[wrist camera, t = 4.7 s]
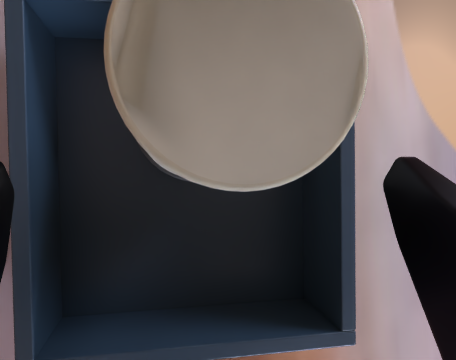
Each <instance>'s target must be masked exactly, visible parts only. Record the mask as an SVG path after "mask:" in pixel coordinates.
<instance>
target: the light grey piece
mask: <svg viewBox="0 0 456 360" xmlns="http://www.w3.org/2000/svg"><path fill="white" fill-rule="evenodd" d="M104 61H105V71H106V76H107V80H108V85H109V89H110V92H111V95H112V97H113V100H114V103H115V105H116V108H117V110H118V112H119V114H120V115H121V117H122V119H123V121H124V123H125V125H126V126H127V128H128V129H129V130H130V132H131V133H132V135H133V136H134V137H135V139H136V141H137V143H138V145H139V147H140V149H141V150H142V152H143V153H144V154H145V156H146V157H147V158H148V159H149V160H150V162H151V163H152V164H153V165H155V166H156V167H157V168H158V169H160V170H161V171H163V172H164V173H166V174H168V175H170V176H172V177H174V178H177V179H181V180H185V181H190V182H194V183H197V184H200V185H204V186H207V187H210V188H214V189H220V190H226V191H241V192H248V191H258V190H265V189H270V188H274V187H278V186H281V185H284V184H286V183H289V182H292V181H294V180H296V179H298V178H300V177H302V176H304V175H305V174H307V173H309V172H310V171H312V170H313V169H314V168H316V167H317V166H319V165H320V164H321V163H322V162H324V161H325V160H326V159H327V158H328V157H329V156H330V155H331V154H332V153H333V152H334V151H335V150H336V148H337V147H338V146H339V145H340V143H341V142H342V141H343V140H344V138H345V136H346V135H347V133H348V132H349V130H350V128H351V127H352V125H353V123H354V121H355V118H356V116H357V114H358V112H359V110H360V106H361V103H362V100H363V97H364V94H365V88H366V82H367V75H368V48H367V40H366V34H365V29H364V25H363V22H362V19H361V15H360V12H359V10H358V7H357V5H356V3H355V1H354V0H113V1H112V4H111V7H110V10H109V13H108V17H107V22H106V27H105V33H104Z"/></svg>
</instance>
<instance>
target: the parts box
mask: <svg viewBox="0 0 456 360" xmlns="http://www.w3.org/2000/svg"><path fill="white" fill-rule="evenodd" d="M112 1H113V0H4V15H5V48H6V81H7V114H8V146H9V178H10V180H11V183H12V185H13V188H14V194H15V197H14V206H13V213H12V221H11V245H12V278H13V311H14V344H15V360H216V359H226V358H235V357H245V356H255V355H265V354H274V353H284V352H294V351H304V350H313V349H323V348H333V347H343V346H352V345H355V344H356V332H355V329H356V304H355V128H354V123H353V125H352V127H351V128H350V130H349V132H348V133H347V135H346V136H345V138H344V140H343V141H342V142H341V143H340V145H339V146H338V147H337V148H336V150H335V151H334V152H333V153H332V154H331V155H330V156H329V157H328V158H327V159H326V160H325V161H324V162H322V163H321V164H320V165H319V166H317V167H316V168H314V169H313V170H312V171H310V172H309V173H307V174H305V175H304V176H302V177H300V178H298V179H296V180H294V181H292V182H289V183H286V184H284V185H281V186H278V187H274V188H270V189H265V190H258V191H248V192H241V191H226V190H220V189H214V188H210V187H207V186H204V185H200V184H197V183H194V182H190V181H185V180H181V179H177V178H174V177H172V176H170V175H168V174H166V173H164V172H163V171H161V170H160V169H158V168H157V167H156V166H155V165H153V164H152V163H151V162H150V160H149V159H148V158H147V157H146V156H145V154H144V153H143V152H142V150H141V149H140V147H139V145H138V143H137V141H136V139H135V137H134V136H133V135H132V133H131V132H130V130H129V129H128V128H127V126H126V125H125V123H124V121H123V119H122V117H121V115H120V114H119V112H118V110H117V108H116V105H115V103H114V100H113V97H112V95H111V92H110V89H109V85H108V80H107V76H106V71H105V61H104V33H105V27H106V22H107V17H108V13H109V10H110V7H111V4H112Z"/></svg>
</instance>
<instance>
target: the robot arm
mask: <svg viewBox="0 0 456 360" xmlns="http://www.w3.org/2000/svg"><path fill="white" fill-rule="evenodd" d="M383 188H384V193H385V197H386V200H387V204H388V208H389V212H390V216H391V219H392V223H393V227H394V231H395V234H396V238H397V241H398V244H399V247H400V250H401V252H402V255H403V257H404V260H405V263H406V265H407V268H408V271H409V273H410V276H411V278H412V281H413V284H414V286H415V289H416V291H417V294H418V297H419V299H420V302H421V304H422V307H423V310H424V312H425V315H426V317H427V320H428V323H429V325H430V328H431V331H432V333H433V336H434V338H435V341H436V344H437V346H438V349H439V351H440V354H441V357H442V359H443V360H456V184H455V183H453V182H452V181H450V180H449V179H447V178H446V177H444V176H443V175H441V174H440V173H438V172H437V171H435V170H434V169H432V168H431V167H430V166H428V165H427V164H425V163H424V162H422V161H421V160H419V159H418V158H416V157H399V158H398V159H396V160H395V162H394V164H393V165H392V167H391V169H390V170H389V172H388V174H387V175H386V177H385V179H384V182H383ZM14 197H15V194H14V188H13V185H12V183H11V180H10V178H9V176H8V173H7V171H6V168H5V166H4V165H3V163H2V162H0V282H1V279H2V275H3V271H4V267H5V263H6V257H7V250H8V243H9V236H10V228H11V221H12V213H13V206H14Z"/></svg>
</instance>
